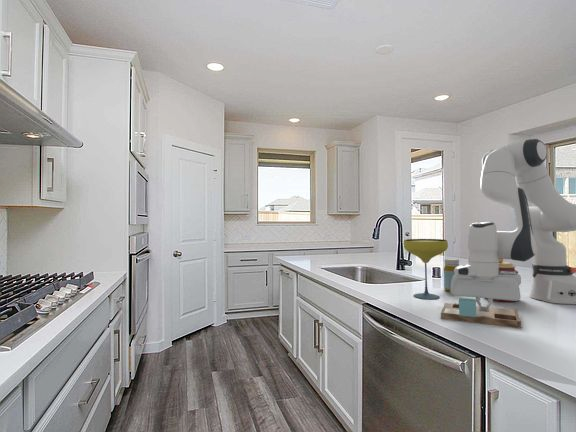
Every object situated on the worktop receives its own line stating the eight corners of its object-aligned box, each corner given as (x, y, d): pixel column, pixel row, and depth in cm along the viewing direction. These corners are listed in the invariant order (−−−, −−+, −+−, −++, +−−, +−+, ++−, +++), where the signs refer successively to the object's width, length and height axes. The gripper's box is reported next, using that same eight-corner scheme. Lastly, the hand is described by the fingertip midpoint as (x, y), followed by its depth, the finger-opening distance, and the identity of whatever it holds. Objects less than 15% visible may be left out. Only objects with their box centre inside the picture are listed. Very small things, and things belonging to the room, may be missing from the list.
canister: (525, 303, 134) (524, 259, 134) (489, 302, 136) (488, 258, 137) (510, 295, 147) (509, 255, 147) (478, 295, 149) (477, 255, 149)
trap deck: (517, 315, 117) (517, 309, 117) (521, 328, 105) (521, 321, 105) (445, 307, 129) (445, 302, 129) (440, 318, 116) (440, 312, 116)
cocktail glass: (401, 291, 158) (400, 239, 158) (442, 292, 155) (440, 238, 156) (409, 301, 140) (407, 241, 141) (455, 302, 138) (453, 241, 138)
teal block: (475, 313, 115) (475, 298, 115) (476, 317, 110) (476, 301, 110) (459, 311, 117) (458, 297, 117) (459, 315, 112) (458, 300, 112)
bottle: (463, 292, 155) (462, 259, 155) (448, 292, 155) (447, 260, 156) (456, 288, 162) (455, 258, 162) (441, 289, 162) (441, 258, 163)
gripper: (519, 270, 110) (520, 312, 110) (450, 267, 120) (451, 305, 120) (521, 273, 105) (523, 317, 104) (449, 269, 115) (450, 309, 115)
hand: (484, 311), depth 112 cm, fingers closed
